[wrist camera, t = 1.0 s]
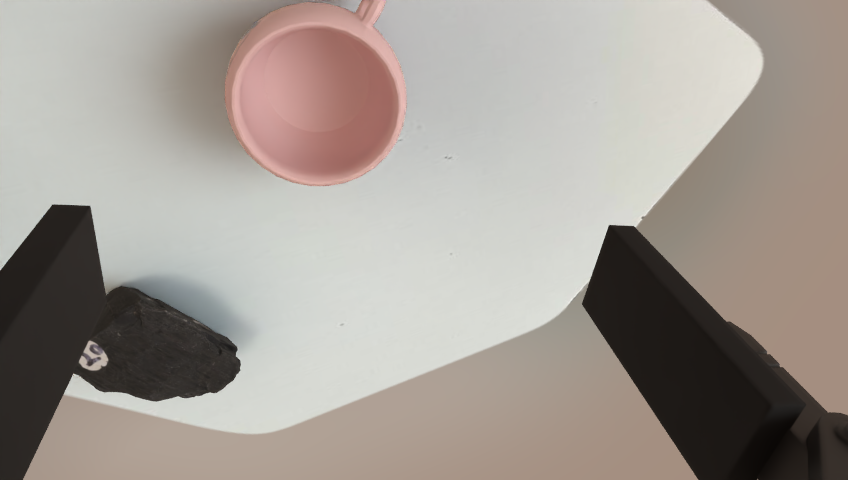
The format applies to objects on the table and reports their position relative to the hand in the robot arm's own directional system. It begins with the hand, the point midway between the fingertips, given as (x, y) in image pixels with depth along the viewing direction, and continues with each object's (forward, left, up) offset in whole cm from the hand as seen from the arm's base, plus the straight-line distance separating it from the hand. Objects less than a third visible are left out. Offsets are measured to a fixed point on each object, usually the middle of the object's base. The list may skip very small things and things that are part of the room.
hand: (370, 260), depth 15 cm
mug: (+1, 0, -24) cm, 24 cm away
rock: (+24, -2, -24) cm, 34 cm away
